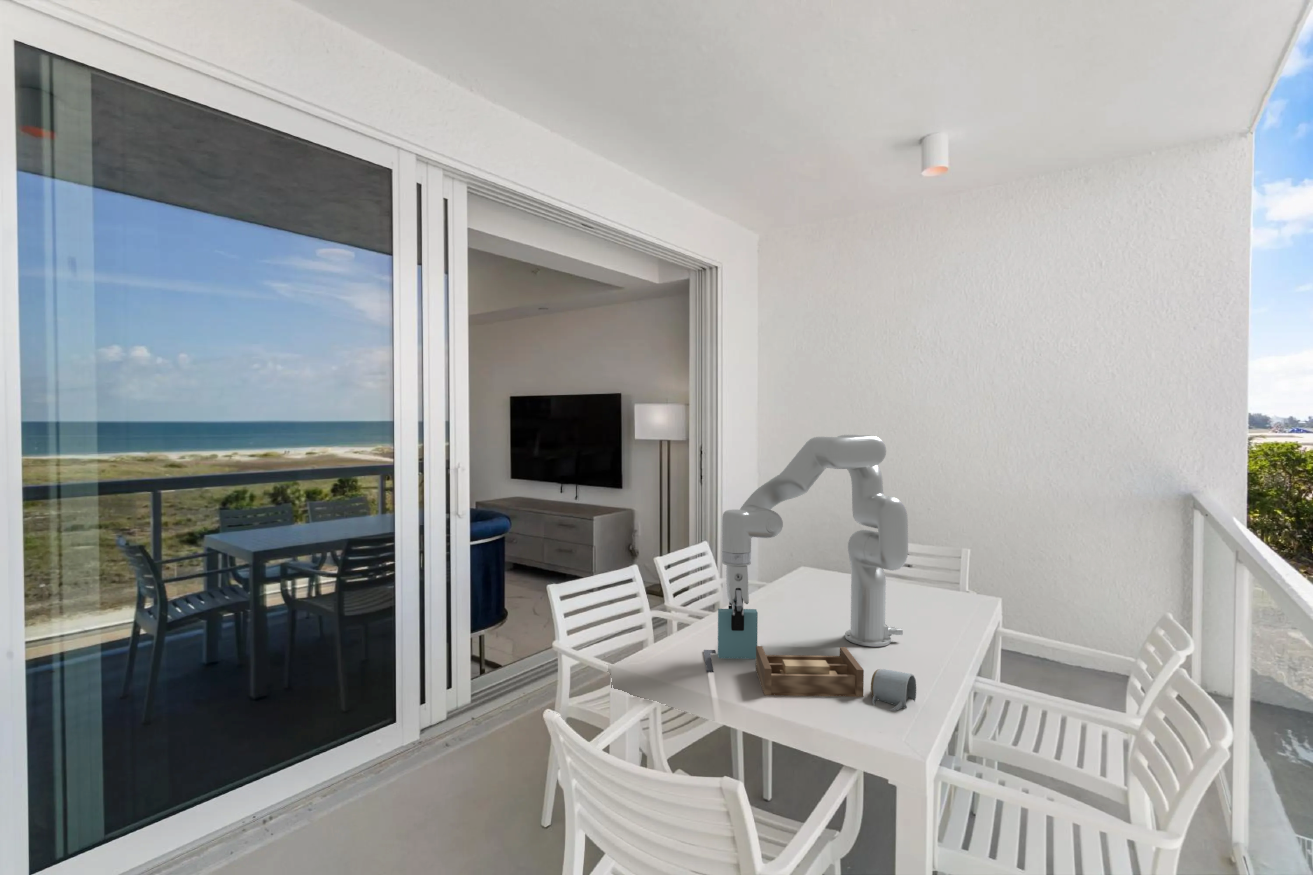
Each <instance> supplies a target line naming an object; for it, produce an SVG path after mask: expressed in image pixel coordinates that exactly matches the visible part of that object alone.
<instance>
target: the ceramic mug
mask: <svg viewBox="0 0 1313 875" xmlns="http://www.w3.org/2000/svg"><path fill="white" fill-rule="evenodd" d="M870 693H871V696H872V705H874V707H876V703H875V702H876V701H881V702H885V703H888V704H891V705H894V707H892V708H889V709H888V711H891V712H892V711H898V710H900V709H903V708H905V709H907V708H908V707H907V700H908V698H909V699H912V700H913V702H914V703H916V699H917V680H916V676H915V675H914V674H912V673H909V672H902V671H897V670H891V669H886V668H882V669H881V668H880V669H876V670H875V671H874V672H873V674H872V678H871V680H870Z"/></svg>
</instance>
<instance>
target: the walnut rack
mask: <svg viewBox="0 0 1313 875" xmlns="http://www.w3.org/2000/svg"><path fill="white" fill-rule="evenodd" d="M783 660H826V662H827V663H828V665H829V666H830V671H836V673H837V674H779V670H783ZM755 672H756V674H757V677H758V680H759V684H760V686H761V689H762V691H763V695H764V696H777V697H779V696H787V697H788V696H789V697H791V696H793V697H796V696H797V697H848V698H849V697H854V698H857V697H859V698H860V697H861V698H862V697H864V685H865V684H864V680H865V678H864V677H865V676H864V672H865V670H864V668H863V667H862V666H861V665H860V663H859V662H858V660H856V658H855V657H854V656H853V654H852V653H851V652H850V651H849V649H848V648H847V647H846V646H839V655H820V654H819V655H810V654H807V655H806V654H800V655H799V654H798V655H797V654H766V652H765V650H764V646H762V645H757V646H756V659H755Z"/></svg>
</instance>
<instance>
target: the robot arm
mask: <svg viewBox="0 0 1313 875" xmlns="http://www.w3.org/2000/svg"><path fill="white" fill-rule="evenodd" d="M805 442H806V443H805V444H804V445H803V446H802V447H801V448H800V449H799V451H798V452H797V453H796V454H795V456H794V457H793V458H792V459H791V460H790V461H789V463H788V464H787V465H786V467H785V468H784V469H783V470H782V471H781V472H780V473H779V474H778V475H775V476H774V477H772V478H771V479H769V480H768V481H766V482H765V483H764V484H762V485H761V486H759V487H758V488H757V489H756V490H754V492H752V493H751V495H749V497H748V498H747V499H746V501H745V502H744V503H743V504H742V505H741V507H740V509H728V510H725V511H724V512H723V513H722V516H721V517H722V518H721V519H722V521H721V524H722V525H721V526H722V529H721V536H722V537H721V563H722V564H723V565H725V567H726V568H725V569H726V571H725V572H726V575H725V576H726V577H725V578H726V579H725V581H726V595H727V599H728V608H727V609H732V614H731V630H732V631H743V630H744V610H743V609H744V604H745V605H748V604H749V601H750V599H749V596H750V595H749V594H750V593H749V570H748V566H750V565H752V539H753V538H759V539H772V538H775V537H777V536H779V535H780V534H781V531H782V530H783V527H784V521H783V519H782V517H781V515H780V514H779V513H778V512H776V511H774V510H772V509H773V508H775V507H776V506H777V505H779V504H781V503H782V502H785V501H788V500H792V499H794V498H795V499H796V498H798V497H801V496H803V495H805V494H806V493H807V492H808V491H810V489H811V487H812V486H813V485H814V484H815V483H816V481H817V480H818V479H819V477H820V476H821V475H822V474H823V473H824V471H825V470H826V469H834V470H847V471H848V473H849V476H850V480H851V501H852V502H851V505H852V509H851V510H852V517H853V519H854V521H855V522H856V523H857V524H859V525H861V526H865V527H867V528H873V529H877V531H874V530H870V529H861V530H860V529H859V530H857V531H855V532H853V533H852V535H851V536H850V537H849V539H848V542H847V552H848V558H849V562H850V579H851V580H850V629H848V630H846V631H845V632H844V638H845V639H846V640H847V641H849V642H850V643H853V644H855V645H857V646H858V645H860V646H862V647H863V646H864V647H874V648H875V647H876V648H877V647H878V648H879V647H885V646H888V645H890V644H891V643H892V637H891V636H894V635H895V636H903V633H904V632H903V627H895V626H894V625H889V626H888V624H886V603H887V602H886V599H887V598H886V595H887V594H886V593H887V592H886V591H887V579H886V574H885V571H884V570H887V571H898V570H900V569H901V568H903V567H904V565H905V564H906V562H907V558H908V555H909V554H908V553H909V524H908V523H909V520H908V519H909V518H908V512H907V509H906V507H905V505H904V503H903V502H902V501H901V500H900V499H899V498H897V497H894V496H890V495H885V494H884V493H885V492H884V486H883V484H884V482H883V475H882V471H881V468H880V467H879V465H880V464H881V463H882V462H883V461H884V459H885V457H886V455H887V447H886V444H885V442H884V441H883V440H882V439H881V438H880V437H878V436H875V435H868V434H867V435H866V434H842V435H838V436H814V437H812V438H810V439H809V440H807V441H805Z"/></svg>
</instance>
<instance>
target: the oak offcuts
mask: <svg viewBox="0 0 1313 875" xmlns="http://www.w3.org/2000/svg"><path fill="white" fill-rule="evenodd" d="M779 674H837V673H836V671H830V666H829V665H828V663H827V662H826V660H783V670H779Z"/></svg>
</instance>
